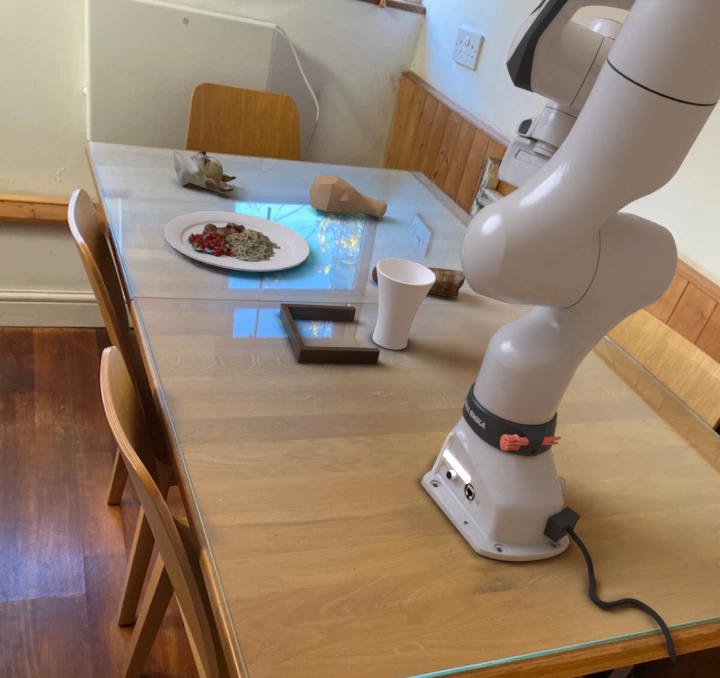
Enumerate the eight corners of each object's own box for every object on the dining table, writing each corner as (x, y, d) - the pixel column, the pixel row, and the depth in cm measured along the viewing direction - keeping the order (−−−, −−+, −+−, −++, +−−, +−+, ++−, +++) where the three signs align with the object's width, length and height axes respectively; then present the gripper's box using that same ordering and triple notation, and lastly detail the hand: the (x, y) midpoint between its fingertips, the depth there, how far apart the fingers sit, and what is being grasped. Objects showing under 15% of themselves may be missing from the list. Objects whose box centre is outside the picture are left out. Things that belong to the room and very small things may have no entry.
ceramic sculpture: (177, 137, 169) (239, 152, 172) (174, 174, 174) (234, 188, 177) (171, 150, 161) (236, 166, 164) (168, 188, 166) (231, 202, 169)
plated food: (333, 253, 155) (335, 238, 153) (256, 293, 133) (258, 276, 131) (222, 209, 163) (223, 195, 161) (132, 240, 140) (132, 223, 138)
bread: (459, 303, 147) (466, 278, 144) (370, 286, 145) (375, 260, 142) (456, 290, 152) (463, 266, 149) (370, 274, 150) (375, 248, 147)
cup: (370, 355, 123) (386, 283, 114) (355, 325, 130) (369, 256, 122) (425, 356, 126) (445, 286, 118) (407, 328, 134) (424, 260, 125)
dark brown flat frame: (377, 364, 121) (380, 351, 119) (298, 362, 116) (300, 349, 114) (351, 318, 132) (354, 306, 131) (279, 315, 128) (280, 303, 126)
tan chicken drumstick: (300, 203, 177) (309, 165, 173) (373, 221, 184) (383, 186, 180) (309, 211, 168) (318, 172, 164) (385, 230, 175) (396, 193, 171)
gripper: (615, 158, 105) (568, 246, 111) (540, 133, 121) (503, 212, 127) (586, 142, 102) (540, 234, 108) (513, 119, 118) (476, 201, 124)
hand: (519, 222), depth 117 cm, fingers closed
